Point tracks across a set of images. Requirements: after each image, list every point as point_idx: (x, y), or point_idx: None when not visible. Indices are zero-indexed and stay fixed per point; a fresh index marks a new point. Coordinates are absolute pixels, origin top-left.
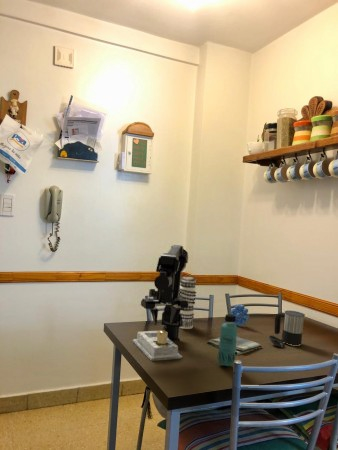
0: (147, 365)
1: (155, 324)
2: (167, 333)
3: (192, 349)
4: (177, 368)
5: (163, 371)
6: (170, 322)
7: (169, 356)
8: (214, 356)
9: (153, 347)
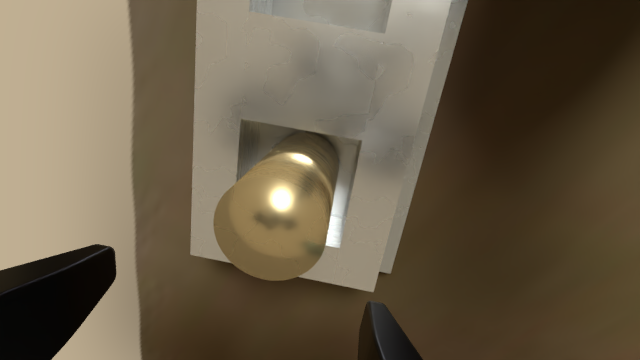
0: (162, 261)
1: (93, 288)
2: (314, 259)
3: (581, 174)
4: (287, 341)
5: (209, 337)
6: (364, 326)
7: None
8: (606, 318)
9: (192, 232)
